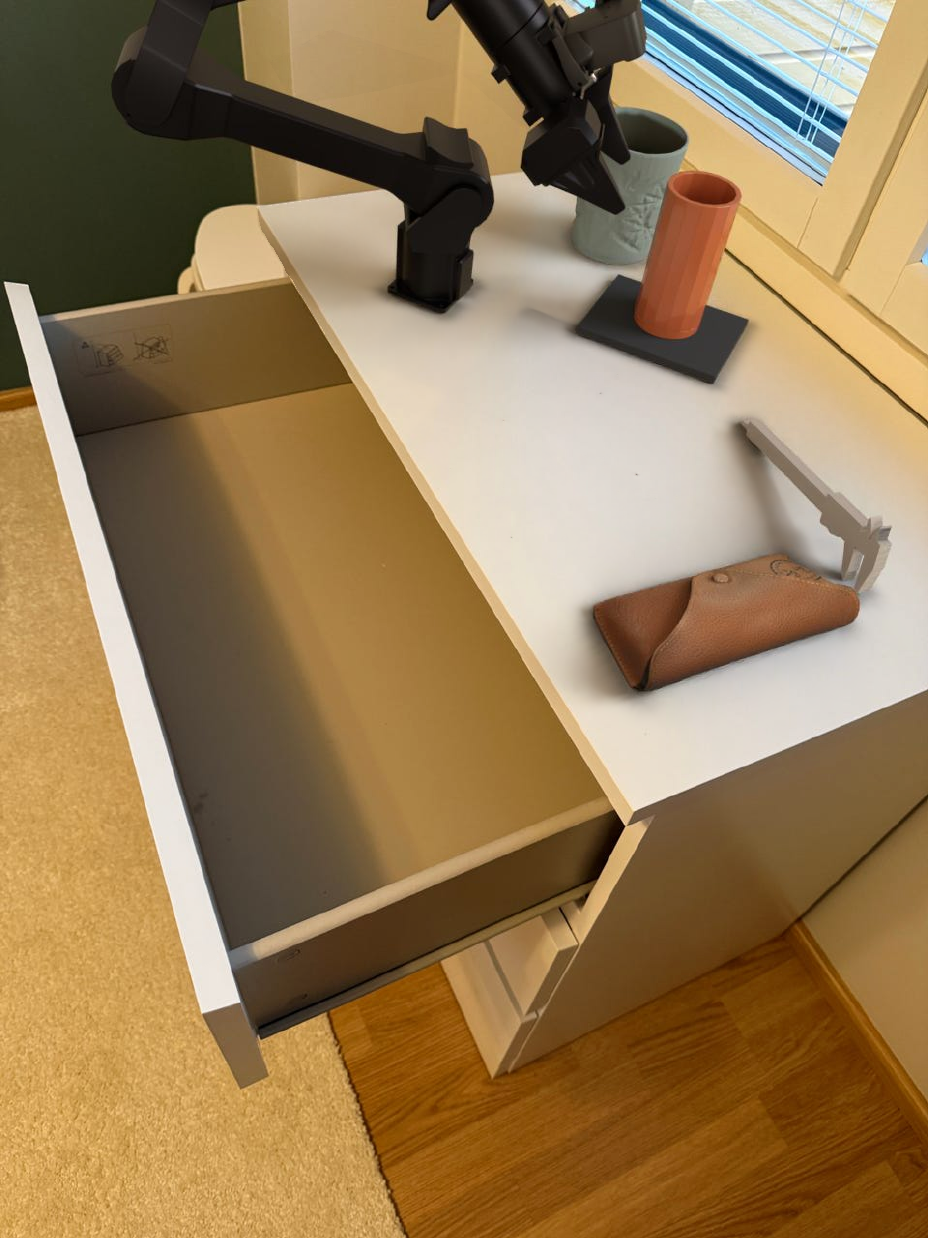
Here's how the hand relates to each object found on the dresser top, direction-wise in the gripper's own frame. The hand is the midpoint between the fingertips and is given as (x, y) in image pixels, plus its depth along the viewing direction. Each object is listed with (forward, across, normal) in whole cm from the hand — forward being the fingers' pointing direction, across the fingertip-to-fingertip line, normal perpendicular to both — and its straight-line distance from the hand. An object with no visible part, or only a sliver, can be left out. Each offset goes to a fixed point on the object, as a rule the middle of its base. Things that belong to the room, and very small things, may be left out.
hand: (623, 185), depth 81 cm
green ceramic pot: (+10, +13, +9) cm, 19 cm away
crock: (+13, -1, +4) cm, 14 cm away
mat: (+14, -1, +4) cm, 14 cm away
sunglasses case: (+17, -37, +1) cm, 41 cm away
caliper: (+22, -23, -4) cm, 32 cm away
